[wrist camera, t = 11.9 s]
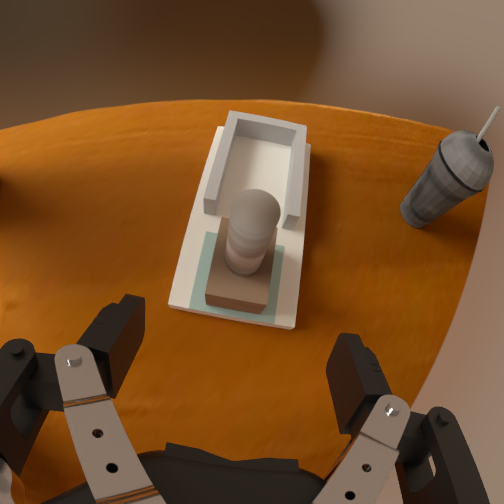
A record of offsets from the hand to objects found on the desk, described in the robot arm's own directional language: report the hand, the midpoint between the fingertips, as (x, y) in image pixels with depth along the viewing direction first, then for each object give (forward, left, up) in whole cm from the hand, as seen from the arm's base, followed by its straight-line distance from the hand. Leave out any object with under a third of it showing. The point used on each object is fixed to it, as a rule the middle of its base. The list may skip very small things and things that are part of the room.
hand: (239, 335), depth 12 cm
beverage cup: (+8, +29, -18) cm, 35 cm away
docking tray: (-8, +14, -17) cm, 24 cm away
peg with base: (-4, +7, -16) cm, 18 cm away
